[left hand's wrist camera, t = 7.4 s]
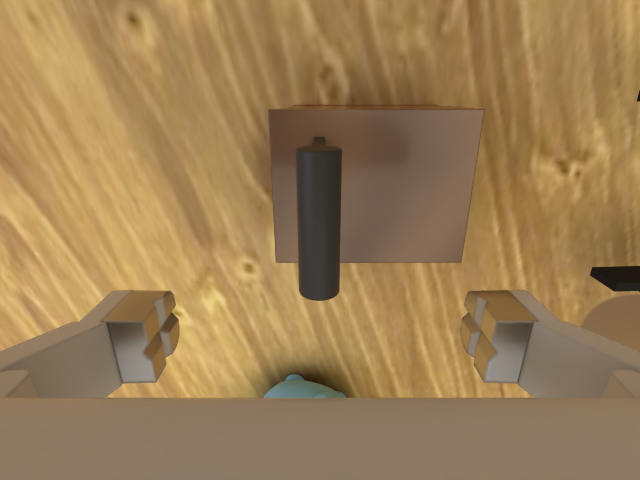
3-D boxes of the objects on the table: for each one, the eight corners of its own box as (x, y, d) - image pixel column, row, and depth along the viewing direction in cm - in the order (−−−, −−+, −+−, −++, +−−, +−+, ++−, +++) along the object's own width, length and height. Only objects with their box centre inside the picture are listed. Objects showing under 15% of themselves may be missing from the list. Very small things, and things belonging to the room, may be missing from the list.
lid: (277, 256, 26) (258, 325, 18) (270, 108, 22) (243, 115, 15) (455, 256, 26) (514, 325, 18) (477, 108, 22) (562, 115, 15)
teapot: (268, 448, 46) (255, 555, 35) (230, 362, 40) (202, 461, 30) (367, 430, 45) (384, 534, 34) (343, 339, 39) (355, 433, 29)
